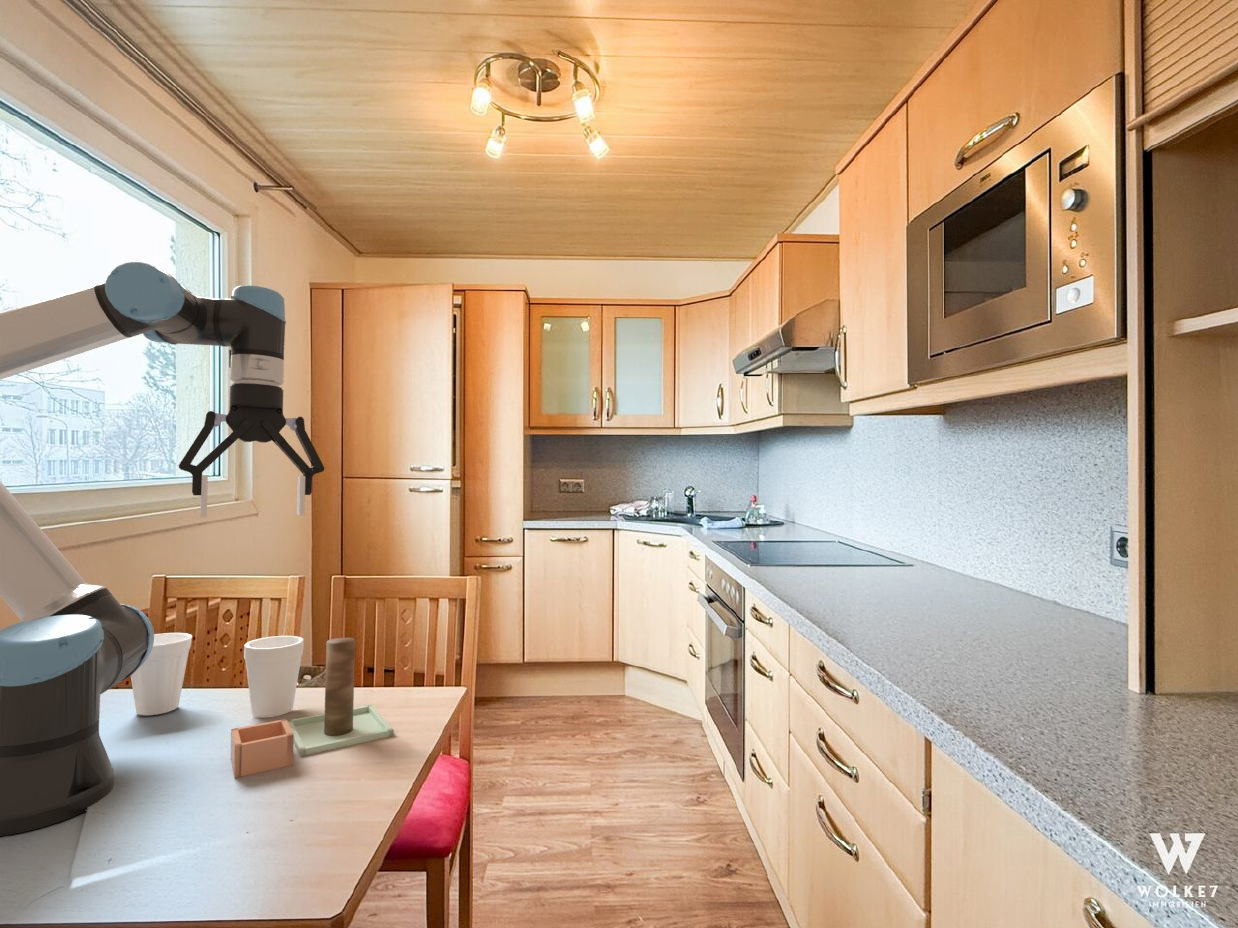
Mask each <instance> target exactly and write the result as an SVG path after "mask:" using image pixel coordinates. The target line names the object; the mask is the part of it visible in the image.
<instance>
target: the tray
mask: <svg viewBox="0 0 1238 928" xmlns="http://www.w3.org/2000/svg"><path fill="white" fill-rule="evenodd" d="M324 721H325V712H324V713H319V714H314V715H309V716H304V717H299V718H298V717H297V718H291V719H288V720H287V722H288V724H289V726H290V728H291V730H292V732H293V734H294V741H293V746H294V747H295V749H296V751H297V754H298V756H299V757H303V756H308V755H312V754H317V753H321V752H325V751H330V750H335V749H339V748H344V747H348V746H352V745H358V744H361V743H366V742H371V741H375V740H381V739H384V738H389V737H393V736H394V730H395V729H394V728H392V726H391V725H390V724H389V723H388V721H387V720H386V719H385V718H384V717H383V716H382V715H381V714H380V713H379V711H378V710H377V709H376V708H375V706H374V705H373V704H368V705H362V706H356V707H353V730H352V731H351V732H350V733H347V734H344V735H340V736H328V735H325V734H324Z"/></svg>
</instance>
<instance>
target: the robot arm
mask: <svg viewBox="0 0 1238 928" xmlns="http://www.w3.org/2000/svg"><path fill="white" fill-rule="evenodd" d="M285 307H286V306H285V299H284V297H283V295H282V294H281V293H279V292H278V291H277V290H276V291H275V290H274V289H271V288H268V287H263V286H258V285H257V286H256V285H238V286H236V287H234V288H233V290H232V294H231V296H230V298H214V297H205V296H197V295H195V294H194V293H193V292H191V291H190V290H189V289H188V288H186V287H185V286H183V285H182V284H180V283H179V282H178V281H177V279H176V278H175V277H174V276H172V275H171V274H170V273H169V272H166V271H164V270H162V269H160V268H159V267H156V266H155V265H152V264H150V263H147V262H142V261H130V262H129V261H128V262H124V263H122V264H119V265H117V266H116V267H115V268H114V269H113V270H111V271H110V273H109V274H108V275H107V277H106V279H105V281H104V282H102V283H98V284H95V285H92V286H88V287H85V288H81V289H78V290H75V291H72V292H69V293H65V294H64V293H63V294H61V295H58V296H55V297H52V298H47V299H45V300H42V301H41V300H40V301H38V302H34V303H31V304H28V305H24V306H21V307H17V308H15V309H11V310H7V311H5V312H4V311H3V312H0V381H1V380H4V379H6V378H10V377H12V376H15V375H16V376H17V375H19V374H21V373H25V372H27V371H32V370H34V369H37V368H40V367H43V366H46V365H49V364H53V363H56V362H59V361H61V360H62V361H63V360H64V359H68V358H71V357H73V356H77V355H79V354H80V355H81V354H83V353H85V352H89V351H92V350H95V349H98V348H101V347H105V346H107V345H110V344H114V343H117V342H119V341H123V340H125V339H129V338H133V337H136V336H139V335H143V336H144V338H146V339H147V340H149V341H151V342H154V343H155V342H157V343H165V344H166V343H167V344H170V345H178V344H179V345H195V346H196V345H197V346H199V345H201V346H214V347H215V346H217V347H226V348H227V347H229V348H230V369H229V370H230V374H229V375H230V376H229V377H230V378H229V379H230V381H231V382H233V383H232V384H231V385H230V386H229V405H228V406H229V407H228V413H227V414H222V413H216V412H214V411H213V410H210V411H207V413H206V414H205V418H204V425H203V426H202V428H201V430H200V431H199V433H198V434H197V437H196V438H195V440H194V441H193V442H192V444H191V445H190V447H189V449H188V450H187V451H186V453H185V454H184V456H183V458H182V459H181V461H180V462H179V464H178V468H179V470H181V471H184V472H186V473H190V474H191V475H192V476H191V477H192V479H191V484H192V486H191V487H192V488H191V490H192V491H191V493H192V495H193V496H200V506H199V507H200V508H199V509H200V511H199V517H200V518H208V517H207V514H208V482H209V481H208V480H209V479H208V477H209V475H207V474H203V472H204V471H205V470H206V469H207V468H209V467H210V466H211V465H212V464H213V463H214V462H215V461H216V460H217V459H218V458H219V457H220V456H221V455H222V454H223V453H225V452H226V451H227V450H228V449H229V448H230V447H231V446H232V445H233V444H234V443H235V442H236V441H237V440H239V441H241V442H244V443H251V442H257V443H262V444H263V443H265V444H267V443H270V442H271V441H272V442H273V443H274V444H275V446H277V447H278V448H279V449H280V450H281V452H282V453H283V454H284V455H285V456H286V457H287V459H289V460H290V462H291V463H292V464H293V465H294V466H295V468H297V469H298V471H300V472H301V474H302V475H299V476H298V475H297V483H296V485H297V486H296V487H297V490H296V491H297V492H296V493H297V494H296V515H297V516H305V505H306V504H305V501H306V499H305V498H306V497H305V496H311V495H312V491H313V476H314V475H317V474H320V473H323V472H324V471H325V465H324V464H323V461H322V460H321V458H320V457H319V454H318V453H317V450H316V449H315V447H314V444H313V442H312V441H311V439H310V437H309V434H308V432H307V431H306V427H305V426H306V425H305V419H304V417H302V416H297V417H288V418H287V417H285V416H284V389H283V387H281V386H282V385H283V384H284V369H285V367H284V365H285V363H284V362H285V361H284V360H285V339H286V338H285V337H286V324H287V320H286V309H285ZM223 422H225V423H226V424H227V426H228V427H229V428H230V429H231V431H232V432H230V434H228V435H227V436H226V437H225V438H224V439H223V440H222V441H221V442H220V443H219V444H218V445H217V446H216V447H215V448H213V450H211V452H209V453H208V454H207V455H206V456H205V457H204V458H203V459H202V460H201V461H199V463H197V464H196V465H195V464H192V463H193V461H194V459H195V457H196V456H197V455H198V454H199V451H200V450H201V448H202V446H204V443H205V442H206V441H207V440H208V438H209V435H210V434H211V432H213V429H214V427H216V428H217V427H219V426H220V425H221V423H223ZM286 425H287V426H288V427H289V429H290V430H291V431H294V432H295V435H296V438H297V439H298V441H299V443H300V445H301V447H302V449H303V451H304V453H305V455H306V456H307V458H308V460H309V463H310V465H311V467H310V466H309V465H308V464H307V463H306V461H304V459H303V458H302V457H301V456H300V455H299V453H297V452H296V450H295V449H294V448H293V447H292V446H291V445H290V443H288V441H287V440H286V439H285V437H284V436H283V435H282V434H281V433H280V431H282V429H283V428H284V427H285V426H286ZM0 598H1V599H2V600H3V602H4V603H5V605H7V606H8V607H9V608H10V609H11V610H12V611H13V613H14V614H15V615H16V616H17V618H18V619H19V620H20V622H18V623H15V624H12V625H9V626H6V627H3V628H2V629H0V836H7V835H8V836H9V835H13V834H19V833H23V832H24V833H26V832H29V831H32V830H37V829H42V828H44V827H47V826H51V825H54V824H57V823H60V822H63V821H66V820H68V819H70V818H74V817H75V816H77V815H80V814H82V813H85V812H86V811H88V808H89V807H91V806H93V805H94V804H97V803H98V802H100V801H101V800H102V799H104V798H105V797H106V796H108V795H109V794H110V792H111V791H112V790H113V788H114V782H115V781H114V780H115V772H114V768H113V765H112V763H111V761H110V758H109V756H108V752H107V749H106V748H105V746H104V743H103V740H102V739H101V736H100V714H101V712H100V710H101V709H100V708H101V695H102V694H104V693H105V692H107V691H108V690H110V689H112V688H113V687H114V686H116V685H118V684H120V683H122V682H124V681H125V680H126V679H127V678H130V677H131V675H132V674H133V673H135V672H136V670H137V669H138V668H139V667H140V666H141V665H142V664H143V663H144V662H145V661H146V659H147V658H148V656H149V654H150V652H151V650H152V647H153V643H154V634H155V631H154V627H153V624H152V622H151V620H150V619H149V617H148V616H147V615H146V614H145V613H144V612H143V611H142V610H140V609H139V608H137V607H134V606H132V605H128V604H123V603H120V602H119V601H118V600H117V598H116V597H115V596H114V594H112V593H111V591H110V590H109V589H108V588H107V587H106V586H105V585H98V584H97V585H96V584H90V583H87V582H86V581H85V580H84V578H83V577H82V576H81V575H80V574H79V572H78V571H77V570H76V569H75V567H74V566H73V565H72V564H71V563H70V561H69V560H68V559H67V558H66V557H65V556H64V555H63V553H62V552H61V551H60V550H59V549H58V548H57V546H56V545H55V544H54V543H53V542H52V540H51V539H50V538H49V537H48V536H47V534H46V533H45V532H44V530H43V529H42V528H41V527H40V526H39V525H38V524H37V523H36V521H35V520H34V519H33V517H32V516H31V515H30V514H29V513H28V511H26V510H25V508H24V507H23V506H22V505H21V503H20V502H19V501H18V500H17V499H16V497H15V496H14V495H13V494H12V493H11V491H10V490H9V489H8V488H7V486H6V485H4V483H3V482H2V480H0Z"/></svg>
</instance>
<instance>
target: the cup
mask: <svg viewBox="0 0 1238 928" xmlns="http://www.w3.org/2000/svg"><path fill="white" fill-rule="evenodd" d="M192 640H193V635H192V634H190V633H187V632H164V633H154V643H153V647H152V650H151V652H150V654H149V656H148V658H147V659H146V661H145V662H144V663H143V664H142V665H141V666H140V667H139V668H138V669H137V670H136V672H135V673H133V674H132V675H131V676H130V679H131V687H132V694H133V700H134V701H133V702H134V706H135V714H137V715H139V716H153V715H155V716H156V715H161V714H165V713H169V712H171V711H175V710H176V709H177V708H179V706H180V705H179V704H180V700H181V693H182V689H183V684H184V678H185V673H186V669H187V668H186V667H187V664H188V663H187V662H188V657H189V652H190V649H191V647H192Z"/></svg>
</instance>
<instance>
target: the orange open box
mask: <svg viewBox="0 0 1238 928" xmlns="http://www.w3.org/2000/svg"><path fill="white" fill-rule="evenodd" d="M293 741H294V734H293V732H292V730H291V728H290V726H289V724H288V722H287V718H284V719H280V720H273V721H267V722H263V723H258V724H253V725H252V724H251V725H245V726H241V727H236V728H231V731H230V764H231V768H232V769H231V770H232V772H233V777H234V779H237V778H243V777H248V776H251V775H257V774H260V773H264V772H265V773H266V772H269V771H273V770H277V769H281V768H282V769H283V768H286V767H292V766H294V743H293Z"/></svg>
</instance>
